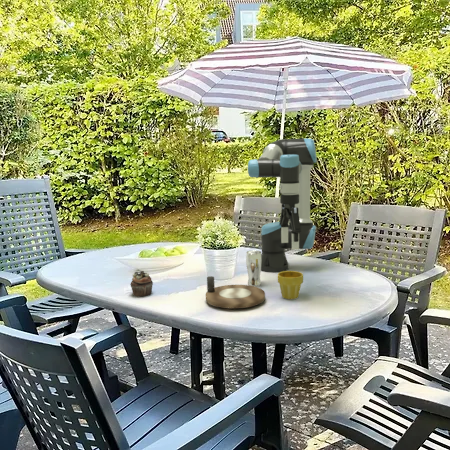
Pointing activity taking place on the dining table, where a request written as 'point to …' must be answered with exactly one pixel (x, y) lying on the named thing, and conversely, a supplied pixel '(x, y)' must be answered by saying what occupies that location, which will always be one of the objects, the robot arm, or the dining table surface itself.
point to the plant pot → (290, 283)
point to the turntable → (233, 295)
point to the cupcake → (141, 284)
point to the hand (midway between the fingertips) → (289, 246)
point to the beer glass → (254, 267)
